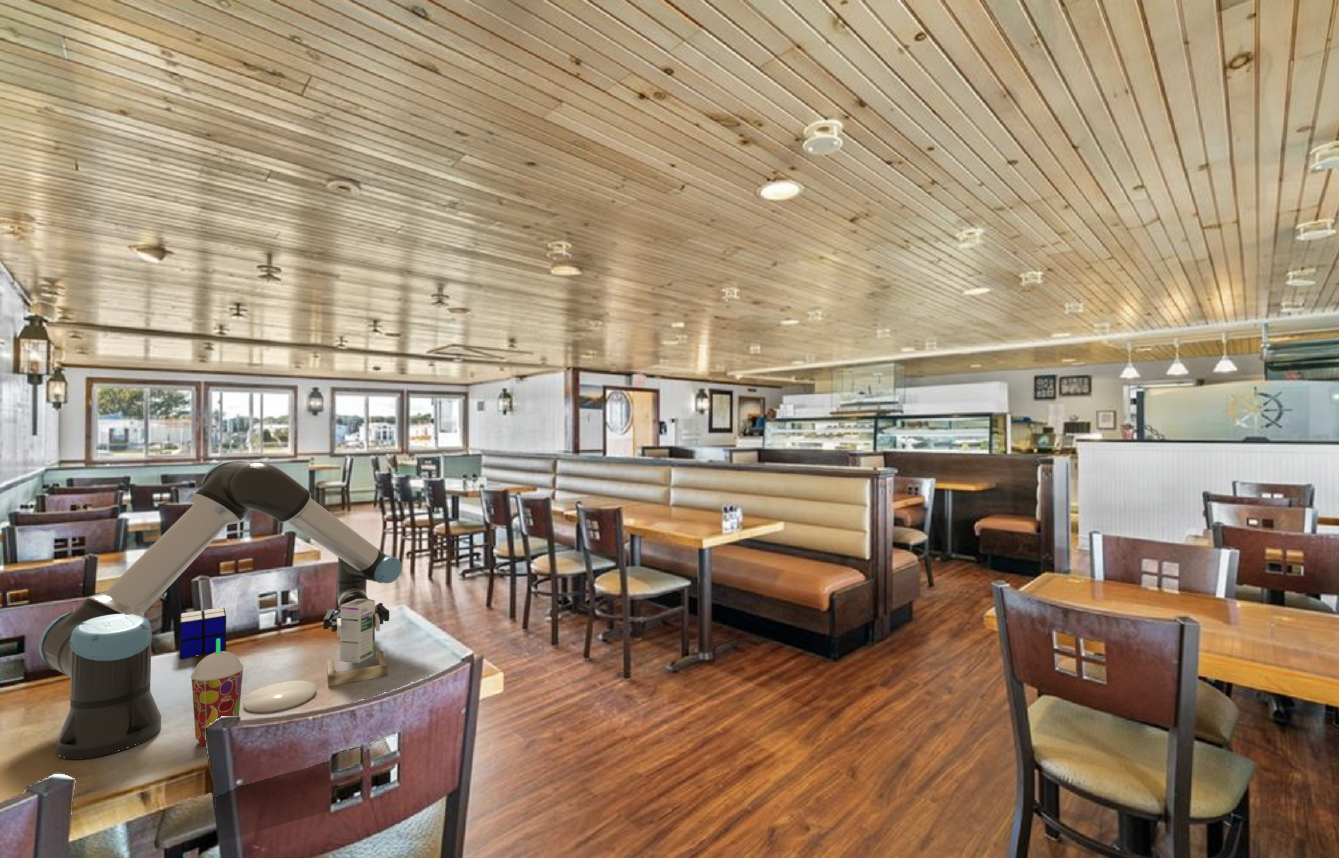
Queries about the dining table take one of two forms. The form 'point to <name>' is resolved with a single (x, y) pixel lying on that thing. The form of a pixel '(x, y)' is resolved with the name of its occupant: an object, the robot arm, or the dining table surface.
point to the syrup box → (357, 630)
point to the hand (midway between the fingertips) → (359, 628)
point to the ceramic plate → (279, 696)
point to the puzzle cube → (202, 632)
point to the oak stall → (357, 672)
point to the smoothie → (216, 689)
